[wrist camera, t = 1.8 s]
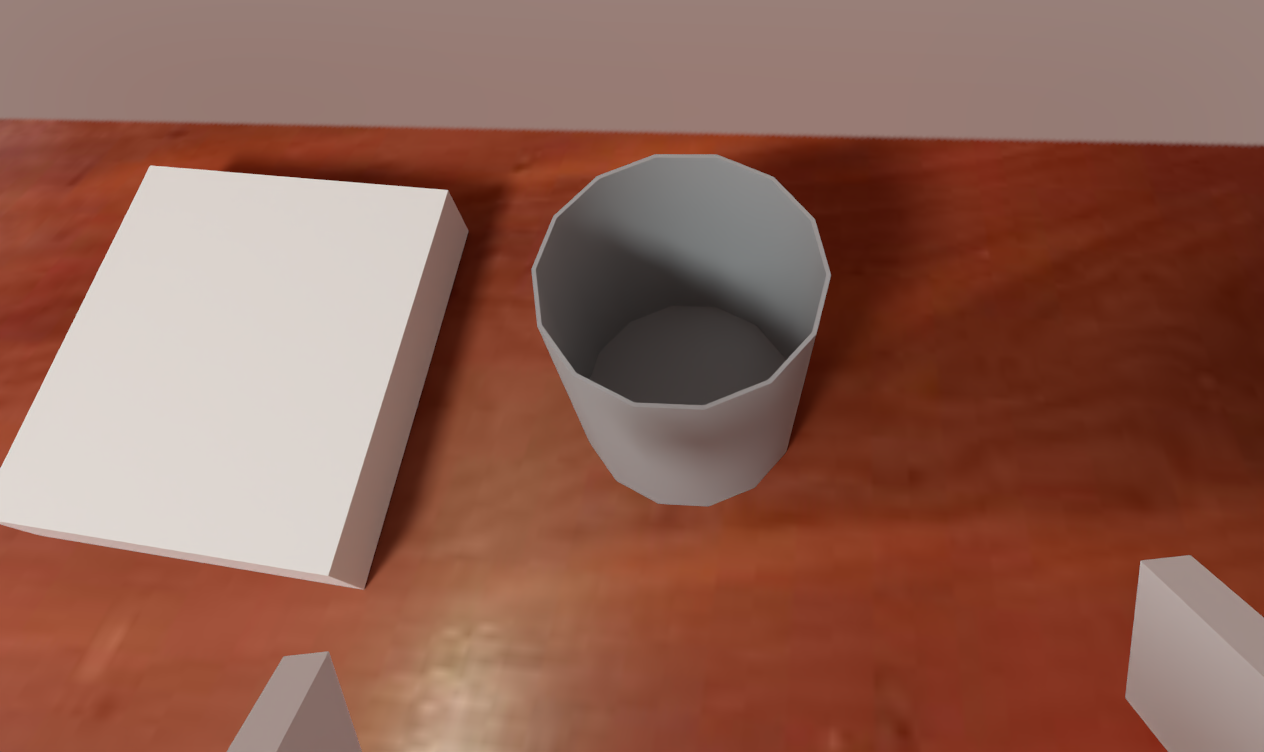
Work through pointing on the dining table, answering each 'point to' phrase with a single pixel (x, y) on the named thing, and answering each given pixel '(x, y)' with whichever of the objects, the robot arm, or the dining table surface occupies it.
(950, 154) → the dining table surface
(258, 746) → the robot arm
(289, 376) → the raised board
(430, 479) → the dining table surface
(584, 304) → the cup
